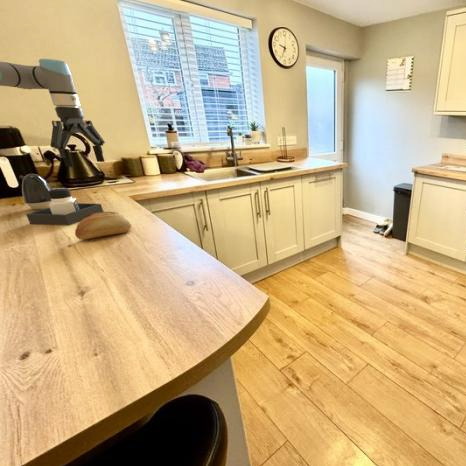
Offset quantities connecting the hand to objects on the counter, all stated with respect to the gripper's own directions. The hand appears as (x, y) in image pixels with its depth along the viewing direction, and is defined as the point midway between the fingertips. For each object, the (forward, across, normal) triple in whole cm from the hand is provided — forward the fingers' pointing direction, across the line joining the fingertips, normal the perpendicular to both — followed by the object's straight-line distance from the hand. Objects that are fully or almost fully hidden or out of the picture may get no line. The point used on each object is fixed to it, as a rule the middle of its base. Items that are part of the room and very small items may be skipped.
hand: (86, 164), depth 117 cm
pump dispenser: (+21, +3, +30) cm, 37 cm away
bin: (+20, -9, +6) cm, 23 cm away
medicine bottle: (+21, -9, +6) cm, 23 cm away
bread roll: (+20, -24, -24) cm, 40 cm away
